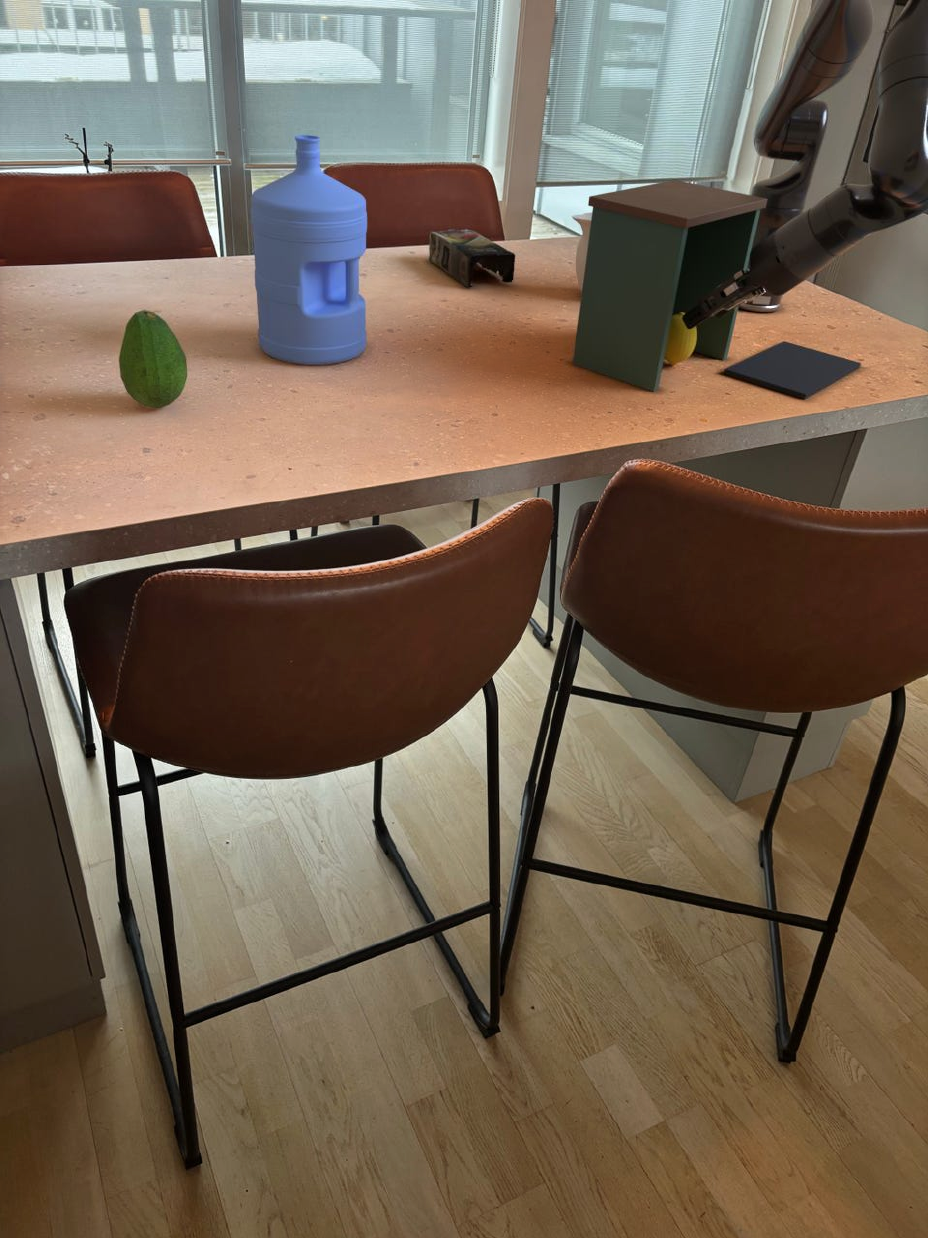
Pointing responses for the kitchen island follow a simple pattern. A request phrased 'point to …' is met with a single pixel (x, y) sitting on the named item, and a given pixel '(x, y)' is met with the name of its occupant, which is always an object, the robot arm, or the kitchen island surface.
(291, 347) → the water jug
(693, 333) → the lemon
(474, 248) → the dark printed box
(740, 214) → the cupboard
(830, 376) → the mat
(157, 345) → the avocado
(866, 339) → the kitchen island surface
